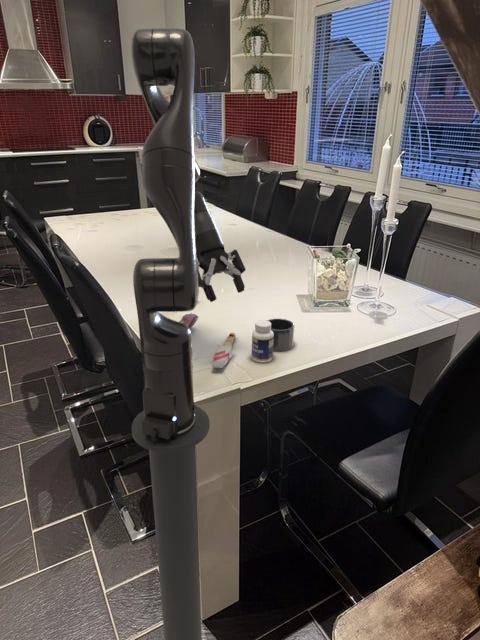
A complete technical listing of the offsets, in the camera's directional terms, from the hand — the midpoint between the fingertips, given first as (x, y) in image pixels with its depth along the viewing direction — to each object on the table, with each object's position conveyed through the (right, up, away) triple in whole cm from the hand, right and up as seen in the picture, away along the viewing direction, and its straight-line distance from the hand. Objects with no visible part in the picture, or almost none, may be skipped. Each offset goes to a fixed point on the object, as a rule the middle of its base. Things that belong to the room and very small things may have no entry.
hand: (227, 296), depth 113 cm
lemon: (-13, 0, +42) cm, 44 cm away
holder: (+13, -12, +13) cm, 23 cm away
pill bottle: (+9, -16, +6) cm, 19 cm away
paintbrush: (-1, -15, +8) cm, 17 cm away
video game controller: (-13, -10, +19) cm, 25 cm away
